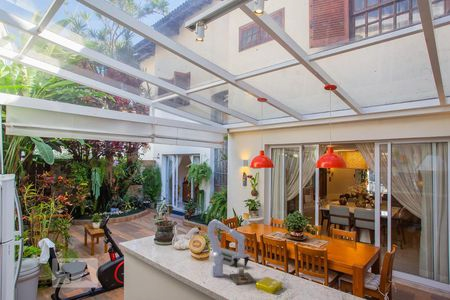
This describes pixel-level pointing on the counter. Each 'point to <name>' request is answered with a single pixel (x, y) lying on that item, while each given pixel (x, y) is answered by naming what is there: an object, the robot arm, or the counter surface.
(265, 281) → the element tile
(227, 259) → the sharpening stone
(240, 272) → the steel peg
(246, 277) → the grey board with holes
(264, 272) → the counter surface
